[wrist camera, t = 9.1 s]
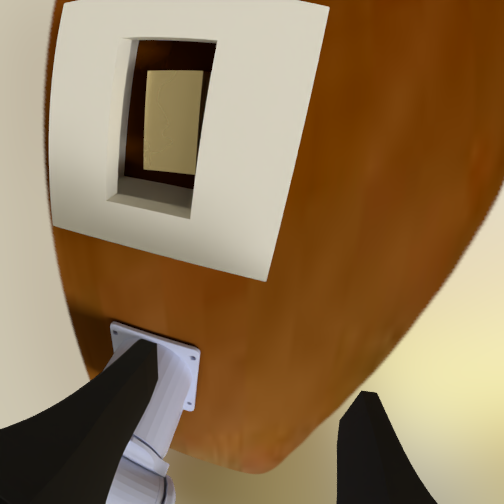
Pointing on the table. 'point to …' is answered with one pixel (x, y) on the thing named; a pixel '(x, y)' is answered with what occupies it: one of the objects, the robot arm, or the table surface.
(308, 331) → the table surface
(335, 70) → the table surface
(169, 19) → the slot box
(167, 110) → the wooden brick
